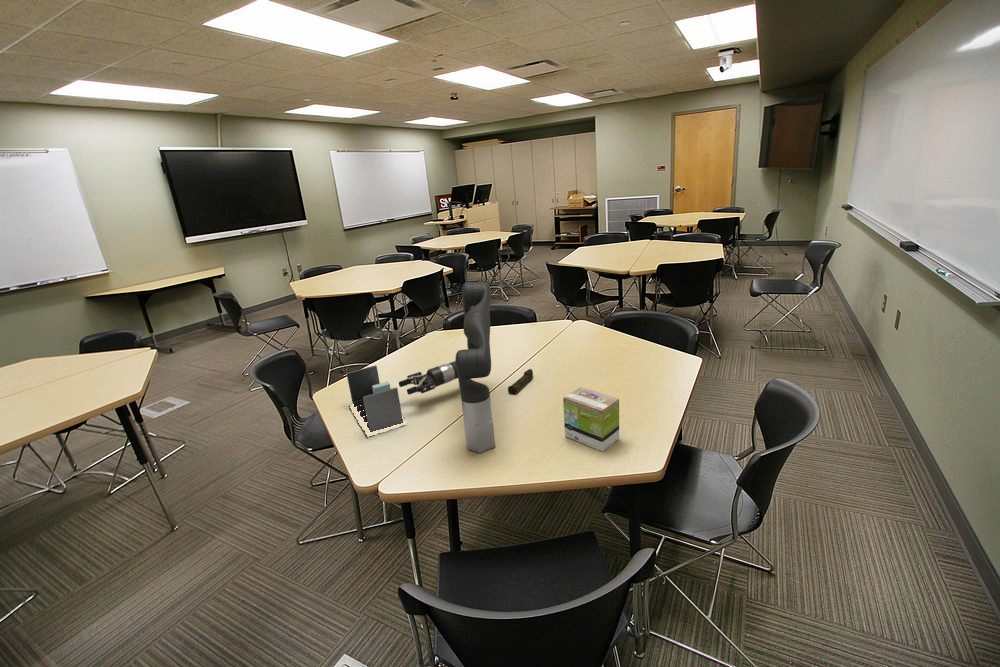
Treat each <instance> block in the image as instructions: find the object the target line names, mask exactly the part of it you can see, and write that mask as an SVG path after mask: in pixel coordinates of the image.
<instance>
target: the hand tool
mask: <svg viewBox="0 0 1000 667" xmlns="http://www.w3.org/2000/svg"><path fill="white" fill-rule="evenodd" d="M533 372H534V371H533V369H532V368H530V369H527V370H525V371H524V372H523V375H522V376H521V377H520V378H519V379H518V380H516V381H515V382H514V383H513V384H511V385H509V386H507V387H508V388H507V392H508V393H509V395H514V396H516V395H517V394H518V393H519V391H520V390H521V389H522V388H523V387H524V386H525V385H527V383H530V382H532V380H533V377H534V373H533Z"/></svg>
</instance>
